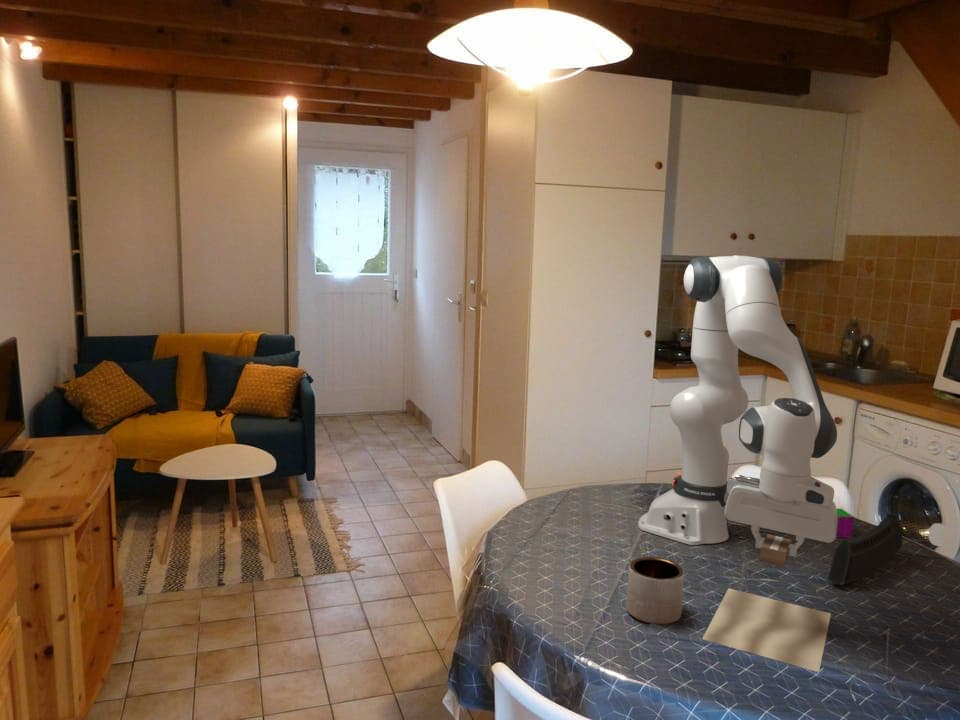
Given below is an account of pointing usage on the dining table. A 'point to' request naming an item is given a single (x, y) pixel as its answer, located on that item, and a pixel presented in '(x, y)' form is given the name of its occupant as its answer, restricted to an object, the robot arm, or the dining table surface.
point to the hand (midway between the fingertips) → (775, 551)
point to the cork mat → (770, 629)
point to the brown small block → (775, 550)
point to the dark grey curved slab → (866, 552)
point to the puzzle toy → (844, 523)
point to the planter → (655, 590)
